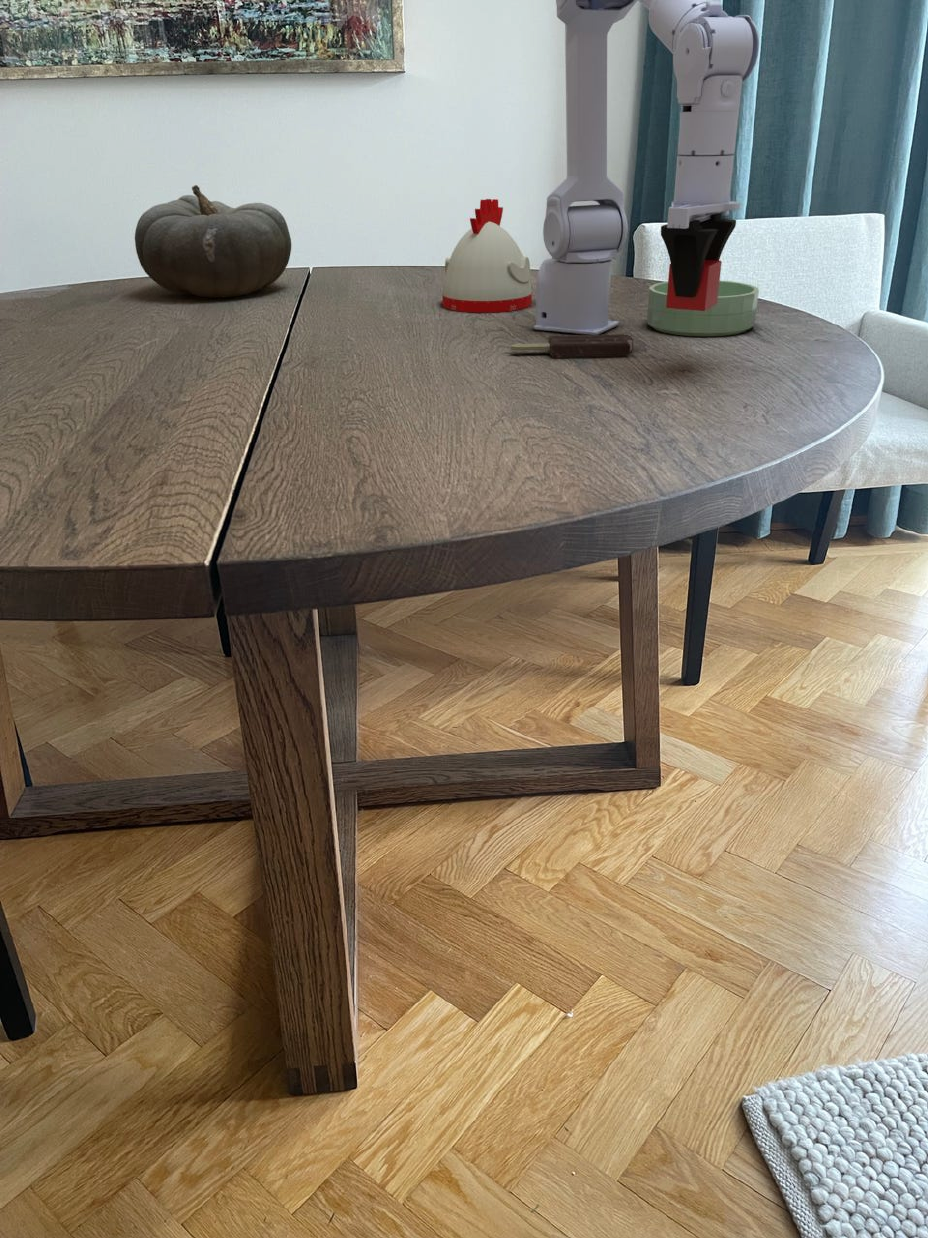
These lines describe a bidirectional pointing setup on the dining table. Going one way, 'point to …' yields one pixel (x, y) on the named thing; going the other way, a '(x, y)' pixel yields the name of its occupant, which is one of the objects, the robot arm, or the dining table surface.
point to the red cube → (705, 292)
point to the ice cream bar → (583, 346)
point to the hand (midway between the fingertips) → (692, 292)
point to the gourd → (212, 246)
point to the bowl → (705, 312)
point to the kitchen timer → (487, 267)
